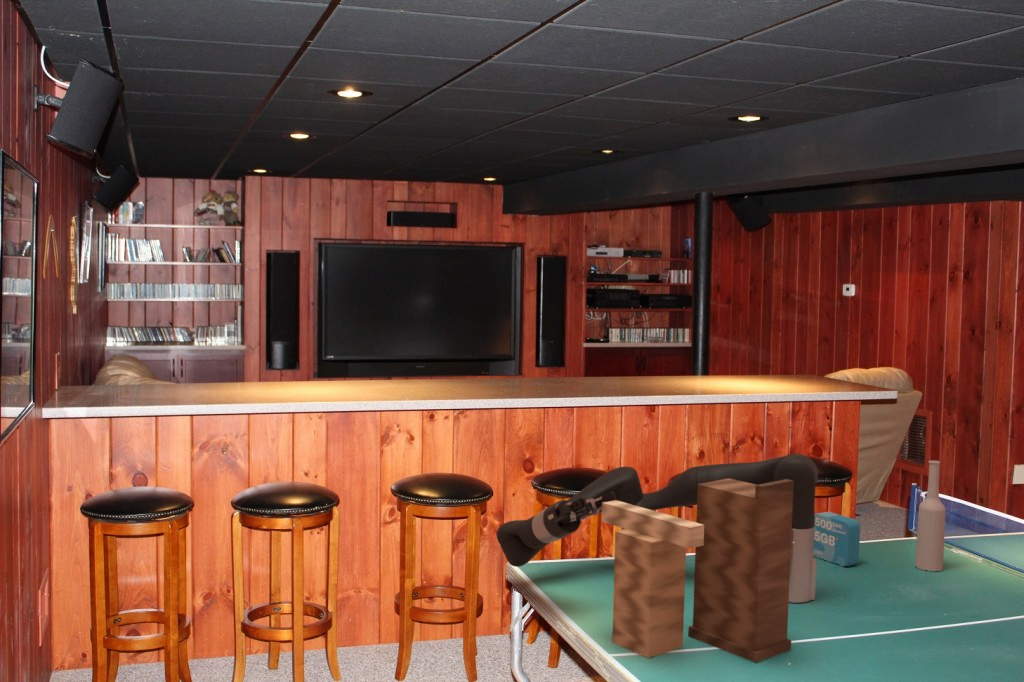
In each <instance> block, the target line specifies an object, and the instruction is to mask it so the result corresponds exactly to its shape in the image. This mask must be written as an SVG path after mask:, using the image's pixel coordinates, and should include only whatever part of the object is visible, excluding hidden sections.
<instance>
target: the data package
mask: <svg viewBox="0 0 1024 682" xmlns="http://www.w3.org/2000/svg"><path fill="white" fill-rule="evenodd" d="M860 540H861V524H860V522H859V521H858V520H857V519H855V518H852V517H848V516H844V515H841V514H838V513H834V512H831V511H825V512H817V513H815V526H814V548H813V557H814V556H816V557H818V558H822V559H824V560H828V561H831V562H834V563H837V564H840V565H842V566H847V567H851V566H856V565H857V564H858V563H859V561H860ZM816 557H815V558H816ZM818 558H817V559H818ZM824 560H823V561H824ZM842 566H841V567H842Z"/></svg>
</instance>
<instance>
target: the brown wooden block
mask: <svg viewBox="0 0 1024 682" xmlns="http://www.w3.org/2000/svg"><path fill="white" fill-rule="evenodd" d="M601 522H603V523H605V524H608V525H611V526H615V527H618V528H622V529H628V530H631V531H634V532H637V533H641V534H644V535H647V536H650V537H654V538H657V539H660V540H663V541H667V542H670V543H673V544H676V545H680V546H683V547H686V549H689V550H690V549H694V548H696V547H698V546H702V545H704V525H703V524H700V523H696V522H695V521H692V520H688V519H685V518H682V517H677V516H674V515H671V514H668V513H667V514H666V513H663V512H660V511H657V510H649V509H646V508H642V507H639V506H635V505H632V504H628V503H624V502H621V501H617V500H614V501H608V502H603V503H602V512H601Z"/></svg>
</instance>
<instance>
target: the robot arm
mask: <svg viewBox="0 0 1024 682" xmlns="http://www.w3.org/2000/svg"><path fill="white" fill-rule="evenodd" d="M818 476H819V471H818V467H817V465H816V463H815V462H814V461H813V460H812V459H811V458H810V457H809V456H806V455H805V454H800V453H792V454H787V455H783V456H779V457H775V458H770V459H765V460H760V461H755V462H733V463H731V462H729V463H715V464H706V465H699V466H692V467H690V468H687V469H686V470H684V471H683V472H682V473H681V474H679V475H678V476H677V477H676V478H675V479H673V480H672V481H671V482H670V483H668V484H667V485H666V486H664V487H663V488H661V489H659V490H655V491H653V492H648V493H647V492H646V493H645V492H644V493H643V489H642V485H641V481H640V477H639V474H638V472H637V470H636V469H635V468H634V467H632V466H620V467H619V466H618V467H616V468H613V469H611V470H609V471H608V472H606V473H604V474H602V475H600V476H599V477H597V479H595V480H594V481H592V482H591V483H590V484H588V485H587V486H585V487H584V488H582V489H581V490H580V491H578V492H577V493H575V494H574V495H573V496H570V498H568V499H561V500H558V501H557V502H555V503H553V504H551V505H550V506H548V507H546V508H544V509H542V510H541V511H539V512H538V513H537V514H535V515H533V516H532V517H531V516H530V517H529V518H527V519H521V520H520V519H519V520H510V521H509V520H508V521H507V522H504V523H502V524H501V525H500V526H499V527H498V529H497V530H496V540H497V542H498V543H499V544H498V545H499V547H500V548H501V550H502V552H503V554H504V556H505V558H506V561H507V562H508V564H510V566H512V567H518V568H519V567H523V566H524V565H526V564H528V563H529V562H530V561H531V560H532V559H534V558H535V556H536V555H538V554H539V552H540V551H542V550H543V549H544V548H545V547H546V546H549V544H551V543H553V542H557V541H559V540H561V539H564V538H565V537H567V536H569V535H571V534H573V533H575V532H577V531H578V529H580V526H581V523H582V521H584V520H586V519H588V518H589V517H593V516H597V515H599V514H600V513H601V514H602V503H603V502H608V501H614V500H617V501H621V502H624V503H628V504H632V505H635V506H639V507H642V508H646V509H649V510H653V511H657V510H663V509H669V508H679V507H688V506H697V491H698V484H702V483H707V482H712V481H718V480H723V479H729V478H730V479H734V480H738V481H743V482H747V483H752V484H756V485H759V484H765V483H770V482H775V481H780V480H785V479H789V480H793V481H794V486H793V510H792V533H791V557H790V581H789V603H798V604H799V603H800V604H801V603H806V602H809V601H815V600H816V582H817V558H816V557H814V556H813V548H814V526H815V514H816V512H815V501H816V483H817V480H818Z"/></svg>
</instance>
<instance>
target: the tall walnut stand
mask: <svg viewBox="0 0 1024 682" xmlns="http://www.w3.org/2000/svg"><path fill="white" fill-rule="evenodd" d="M793 486H794V481H793V480H789V479H785V480H780V481H775V482H770V483H765V484H759V485H756V484H752V483H747V482H743V481H738V480H734V479H730V478H729V479H723V480H718V481H712V482H707V483H702V484H698V491H697V505H696V519H695V520H696V523H700V524H703V525H704V545H702V546H698V547H694V548H695V551H694V553H695V554H694V580H693V581H694V583H693V584H694V585H693V611H692V625H689V626H688V635H687V637H689V638H692V639H695V640H697V641H700V642H702V643H705V644H707V645H709V646H713V647H715V648H718V649H720V650H723V651H725V652H727V653H730V654H733V655H734V654H735V656H737V655H738V656H737V657H739V656H740V658H742V657H743V658H742V659H744V658H746V659H745V660H747V659H749V660H751V661H750V662H752V661H754V662H758V661H760V662H762V661H761V660H763V659H766V658H768V659H770V658H769V657H771V658H773V656H774V657H776V656H779V655H782V654H784V653H786V651H787V652H790V651H791V650H792V640H791V639H789V638H788V628H789V627H788V626H789V625H788V624H789V622H788V621H789V603H790V602H789V581H790V557H791V533H792V510H793ZM783 652H784V653H783ZM778 654H779V655H778ZM775 655H776V656H775ZM749 660H748V661H749ZM766 660H767V659H766ZM763 661H764V660H763ZM754 662H753V663H754ZM758 663H759V662H758Z"/></svg>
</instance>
